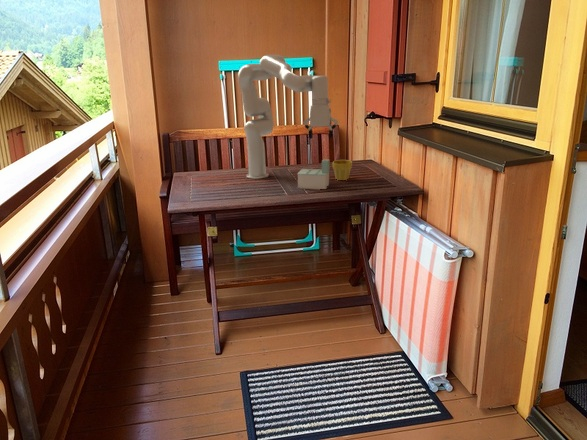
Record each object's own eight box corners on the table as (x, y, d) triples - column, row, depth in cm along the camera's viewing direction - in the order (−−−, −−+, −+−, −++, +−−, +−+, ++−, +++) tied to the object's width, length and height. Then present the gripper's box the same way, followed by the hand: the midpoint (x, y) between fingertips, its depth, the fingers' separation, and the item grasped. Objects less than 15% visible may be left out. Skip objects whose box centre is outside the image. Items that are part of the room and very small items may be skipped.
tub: (302, 183, 240) (302, 170, 238) (328, 184, 237) (328, 171, 235) (298, 188, 231) (297, 175, 229) (325, 189, 228) (325, 175, 226)
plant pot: (349, 182, 241) (349, 164, 237) (330, 181, 244) (330, 163, 241) (353, 177, 250) (353, 160, 247) (335, 176, 253) (335, 159, 250)
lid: (302, 172, 239) (301, 157, 236) (330, 173, 235) (330, 158, 233) (297, 177, 229) (296, 161, 227) (326, 178, 226) (326, 162, 223)
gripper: (339, 101, 221) (339, 137, 226) (304, 102, 225) (305, 137, 230) (336, 102, 214) (336, 139, 219) (300, 103, 218) (301, 139, 224)
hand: (320, 138), depth 225 cm, fingers open, 9 cm apart
